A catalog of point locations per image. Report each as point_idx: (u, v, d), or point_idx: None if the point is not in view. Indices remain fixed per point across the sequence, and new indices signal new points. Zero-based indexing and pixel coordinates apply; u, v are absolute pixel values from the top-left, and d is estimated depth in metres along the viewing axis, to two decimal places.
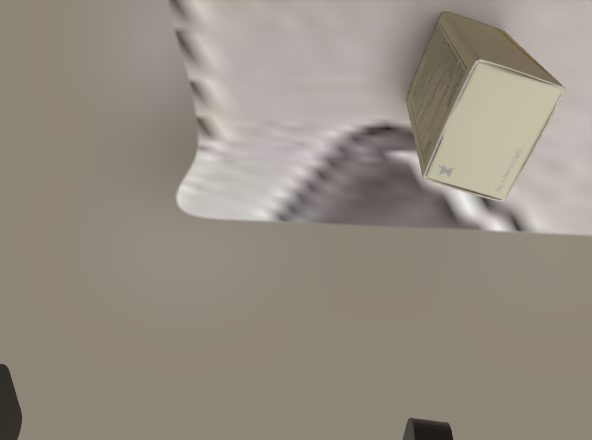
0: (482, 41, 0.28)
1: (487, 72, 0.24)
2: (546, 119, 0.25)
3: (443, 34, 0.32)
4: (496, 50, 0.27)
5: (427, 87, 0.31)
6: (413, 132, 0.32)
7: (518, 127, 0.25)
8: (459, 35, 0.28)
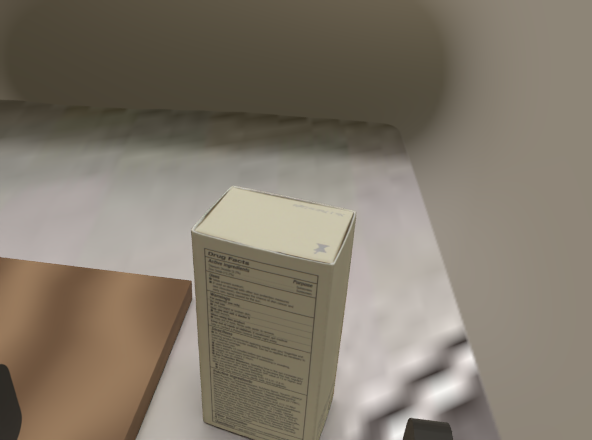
0: None
1: (206, 224, 0.23)
2: (262, 194, 0.25)
3: (213, 383, 0.27)
4: None
5: (265, 373, 0.25)
6: (318, 371, 0.24)
7: (269, 206, 0.24)
8: (197, 324, 0.25)
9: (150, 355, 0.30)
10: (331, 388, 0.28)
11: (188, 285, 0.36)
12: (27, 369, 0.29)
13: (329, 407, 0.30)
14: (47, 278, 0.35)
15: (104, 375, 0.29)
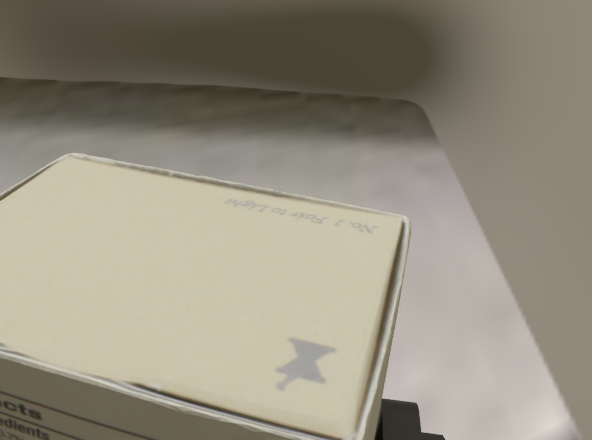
0: None
1: None
2: (145, 173, 0.09)
3: None
4: None
5: None
6: None
7: (151, 204, 0.08)
8: None
9: None
10: None
11: None
12: None
13: None
14: None
15: None
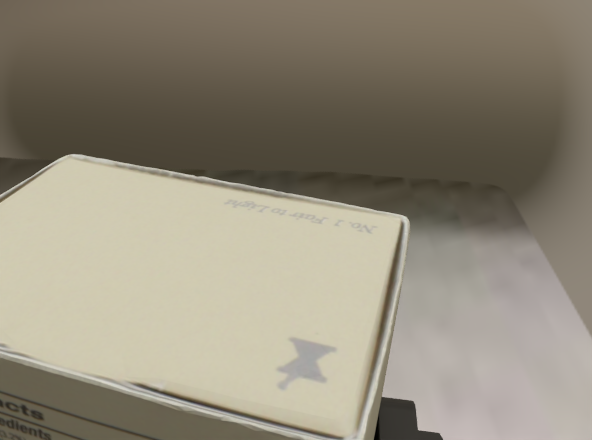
0: None
1: None
2: (145, 173, 0.09)
3: None
4: None
5: None
6: None
7: (152, 205, 0.08)
8: None
9: None
10: None
11: None
12: None
13: None
14: None
15: None
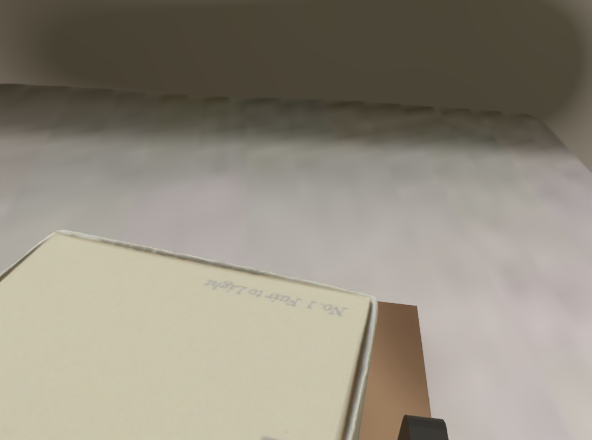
0: None
1: None
2: (130, 250, 0.10)
3: None
4: None
5: None
6: None
7: (136, 289, 0.09)
8: None
9: (418, 415, 0.22)
10: None
11: (416, 312, 0.27)
12: None
13: None
14: None
15: None
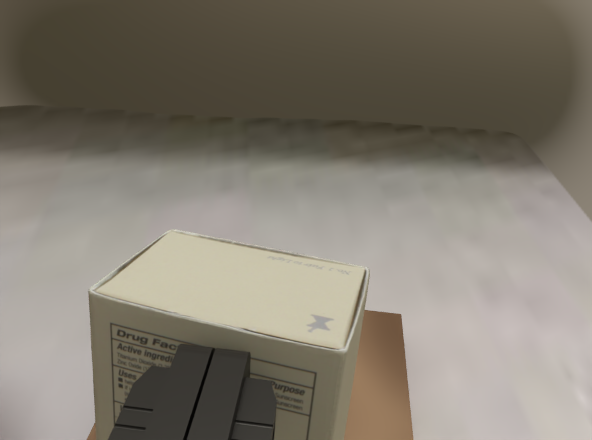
0: None
1: (117, 281, 0.13)
2: (218, 241, 0.16)
3: None
4: None
5: None
6: None
7: (228, 257, 0.15)
8: None
9: (399, 407, 0.26)
10: None
11: (400, 319, 0.31)
12: None
13: None
14: None
15: (360, 434, 0.25)
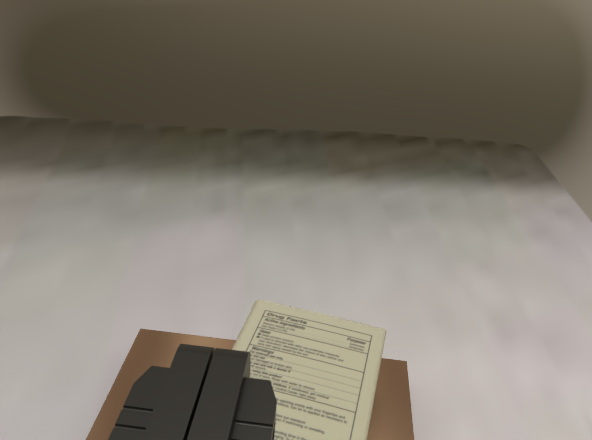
0: None
1: None
2: None
3: None
4: None
5: None
6: (362, 436, 0.19)
7: None
8: None
9: None
10: None
11: (406, 368, 0.28)
12: None
13: None
14: None
15: None
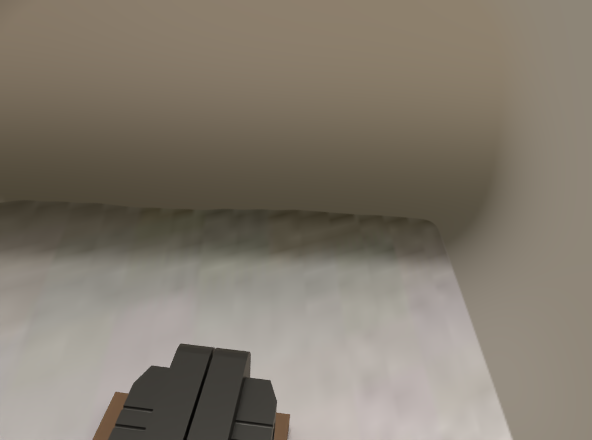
0: None
1: None
2: None
3: None
4: None
5: None
6: None
7: None
8: None
9: None
10: None
11: (288, 419, 0.43)
12: None
13: None
14: None
15: None
